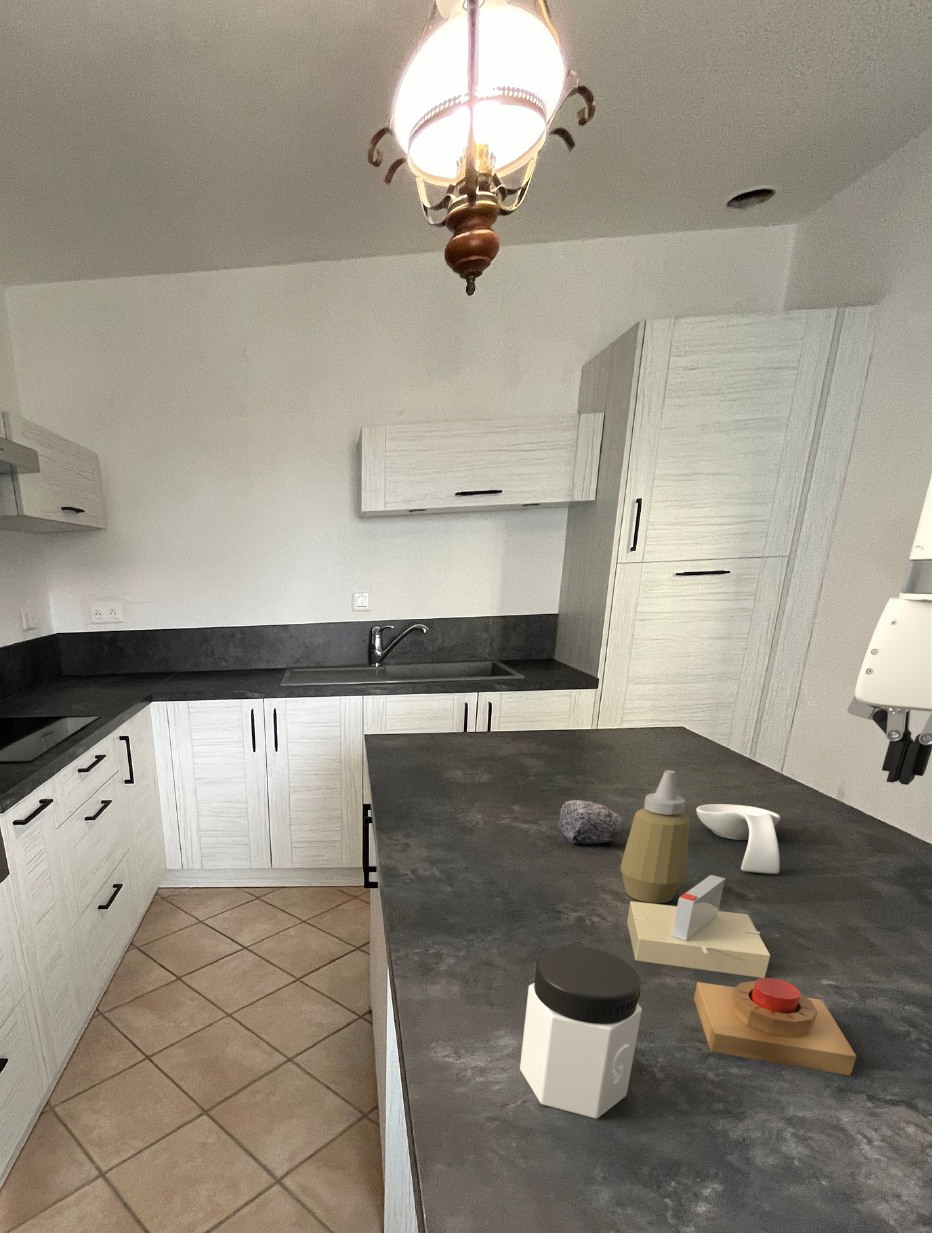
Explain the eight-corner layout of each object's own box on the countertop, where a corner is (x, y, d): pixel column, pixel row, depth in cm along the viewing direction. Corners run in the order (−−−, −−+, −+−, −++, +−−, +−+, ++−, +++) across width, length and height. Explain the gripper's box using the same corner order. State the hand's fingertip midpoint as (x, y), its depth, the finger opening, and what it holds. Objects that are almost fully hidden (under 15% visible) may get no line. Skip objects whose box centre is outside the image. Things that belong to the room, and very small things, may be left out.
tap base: (740, 929, 86) (746, 907, 85) (769, 986, 74) (776, 961, 73) (625, 915, 90) (628, 894, 89) (635, 967, 79) (639, 943, 78)
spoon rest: (687, 818, 122) (694, 780, 120) (763, 824, 119) (772, 785, 116) (715, 871, 102) (725, 826, 99) (809, 880, 98) (822, 833, 95)
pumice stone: (609, 846, 118) (552, 824, 121) (629, 806, 115) (570, 785, 118) (609, 867, 109) (547, 843, 112) (630, 825, 106) (566, 802, 109)
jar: (583, 1134, 56) (602, 1012, 52) (502, 1079, 63) (513, 967, 58) (642, 1087, 61) (664, 972, 57) (561, 1041, 67) (575, 934, 63)
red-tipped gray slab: (703, 911, 84) (711, 872, 83) (717, 915, 83) (725, 876, 81) (671, 936, 79) (679, 895, 77) (686, 941, 78) (694, 900, 76)
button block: (817, 1017, 69) (826, 984, 68) (850, 1076, 61) (862, 1039, 60) (693, 999, 73) (700, 966, 71) (710, 1052, 65) (718, 1017, 64)
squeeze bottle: (617, 879, 101) (635, 761, 94) (680, 888, 97) (703, 766, 91) (615, 902, 94) (635, 777, 87) (682, 912, 90) (708, 783, 84)
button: (789, 996, 67) (794, 981, 66) (801, 1017, 64) (806, 1002, 63) (747, 990, 68) (750, 975, 67) (756, 1011, 65) (760, 995, 64)
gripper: (1089, 577, 57) (1013, 787, 63) (863, 580, 68) (819, 760, 74) (1082, 581, 52) (1002, 806, 59) (842, 584, 63) (797, 774, 70)
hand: (900, 780), depth 67 cm, fingers closed
